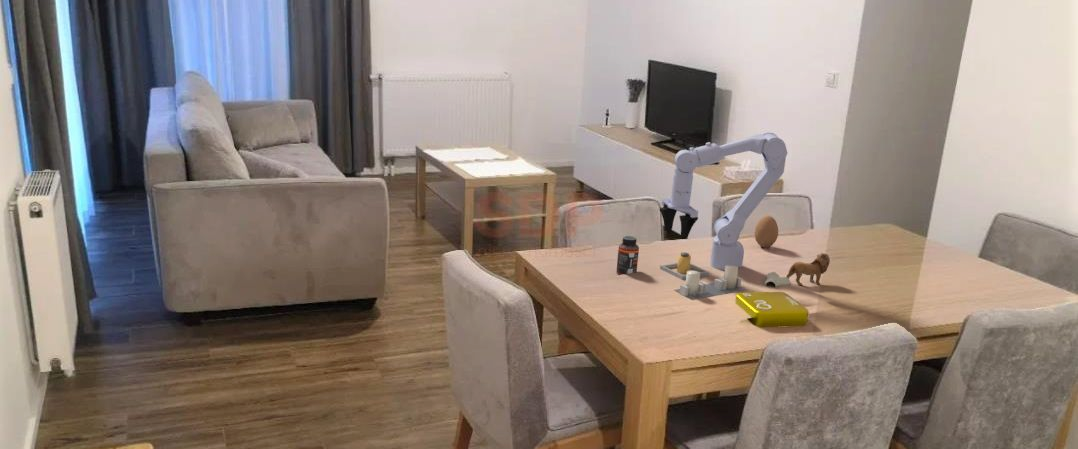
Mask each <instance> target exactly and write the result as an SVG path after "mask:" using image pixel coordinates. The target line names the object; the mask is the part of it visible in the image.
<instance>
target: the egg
mask: <svg viewBox="0 0 1078 449" xmlns="http://www.w3.org/2000/svg"><path fill="white" fill-rule="evenodd" d="M778 237H779V227H778V223H777V221H776V219H775V218H774V217H772V216H771V215H765V216H763V217H762V218H760V219H759V220H758V222H757V223H756V225H755V229H754V239H755V241H756V243H757V244H758V245H759V246H760V247H762V248H763V249H764V248H765V249H766V248H767V249H768V248H769V247H772V246H773V245H774V244H775V243H776V241H777V239H778Z"/></svg>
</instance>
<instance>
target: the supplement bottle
mask: <svg viewBox="0 0 1078 449" xmlns="http://www.w3.org/2000/svg"><path fill="white" fill-rule="evenodd" d="M621 241H622V243H620V244H619V245H618V250H617V260H616V261H617V263H616V274H617V275H618V276H621V275H628V274H634V273H637V272H638V262H639V250H640V247H639V245H638V244H637V237H635V236H631V235H630V236H629V235H625V236H623V237H622V240H621Z"/></svg>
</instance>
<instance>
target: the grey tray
mask: <svg viewBox="0 0 1078 449" xmlns="http://www.w3.org/2000/svg"><path fill="white" fill-rule="evenodd" d="M677 266H678V262H676V263H675V262H674V263H668V264H661V265H660V266H659V269H660V270H662V271H664V272H665V273H667V274H669V275H671V276H674V277H675V278H678V279H680V280H686V275H687V274H680V273H678V272H677V271H675V270H673V268H677ZM690 269H692V270H693V271H697V272H700V277H706V276H709V271H708V270H706V269H703V268H702V267H699V266H697V265H695V264H693V263H691V262H690Z"/></svg>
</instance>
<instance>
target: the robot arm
mask: <svg viewBox="0 0 1078 449" xmlns="http://www.w3.org/2000/svg"><path fill="white" fill-rule="evenodd" d="M745 152H753V153H755V154H757V155H762V158H763V163H764V169H763V170H762V171H761V172H760V174H759V175H758V176H757V178H756V179H755V180H754V181H753V182H752V183H751V185H750V186H749V187H748V189H747V190H746V191H745V193H744V194H743V196H741V197H740V199H739V200H738V202H737V203H736V204H735V205H734V207H733V208H732V209H731V210H729V211H726V213H724V215H723V216H722V217H720V218H718V219H717V220H716V221H715V222H714V225H713V231H714V233H715V236H714V237H713V239H712V243H711V244H712V245H711V252H710V254H711V255H710V263H709V266H710V267H712V268H714V269H716V270H723V271H725V265H729V264H730V265H736V266H738V268H742V267H743V262H744V255H745V248H744V246H743V244H742V242H740V241H738V240H739V238H740V234H741V232H742V230H743V229H744V227H745V224H746V221H747V219H748V218H749V217H750V216H751V215H752V214H753V212H754V210H756V208H757V207H758V206H759V204H760V203H761V202H762V201H763V200H764V199H765V197H766V196H767V194H768V193H769V192H770V191H771V189H773V187H774V186H775V184H776V183H777V182H778V181H779V179H780V178H781V177H783V176H782V175H783V174H784V173H785V167H786V166H785V165H786V159H787V155H788V149H787V145H786V143H785V141H784V140H783V139H782V138H779V137H778V135H777V134H776V133H774V132H770V131H769V132H765V133H763V134H762V133H758V134H753V135H751V136H748V137H744V138H741V139H738V140H735V141H731V142H728V143H725V144H722V145H718V144H717V143H715V142H712V143H711V142H710V141H709V142H706V143H705V145H701V146H698V147H689V149H688V150H687V149H681V150H679V151H678V152H677V153H676V154H675V157H673V162H674V164H675V168H674V173H673V175H672V176H673V178H672V185H671V186H672V187H671V192H670V193H671V194H670V199H668V198H662V199H661V204H660V205H661V206H662V207H660V208H659V211H660V214H661V217H662V220H663V227H664V228H663V229H664V231H665V232H671V231H672V230H673V225H674V220H675V217H676V214H677V212H679V213H681V214H682V215H679V220H680V238H681V239H682V240H683V239H688V237H689V235H690V232H691V230H692V228H693V226H694V225H695V223H696V222H697V221H698V220H699V216H698V215H699V210H697V209H695V208H693V206H691V205H690V204H691V197H692V196H691V195H692V188H693V180H694V170H696V168H701V167H705V166H708V165H713V164H716V163H719V162H720V161H721V160H722V158H723V157H727V156H731V155H736V154H741V153H745ZM683 214H684V215H683Z"/></svg>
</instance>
